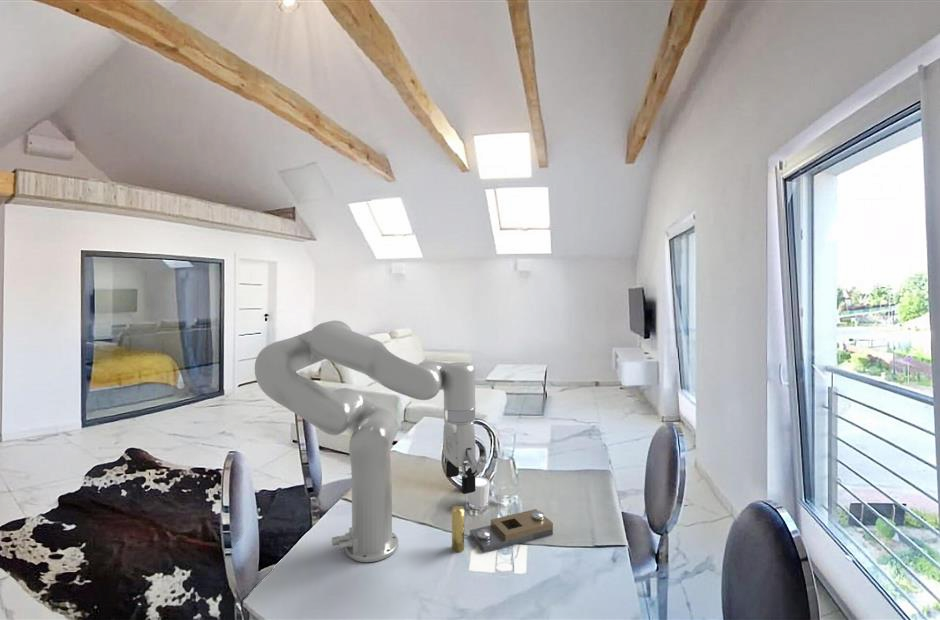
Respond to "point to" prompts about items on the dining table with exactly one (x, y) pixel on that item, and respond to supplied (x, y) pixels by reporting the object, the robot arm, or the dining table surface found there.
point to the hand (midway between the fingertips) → (460, 484)
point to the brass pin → (458, 529)
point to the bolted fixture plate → (512, 530)
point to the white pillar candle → (479, 492)
